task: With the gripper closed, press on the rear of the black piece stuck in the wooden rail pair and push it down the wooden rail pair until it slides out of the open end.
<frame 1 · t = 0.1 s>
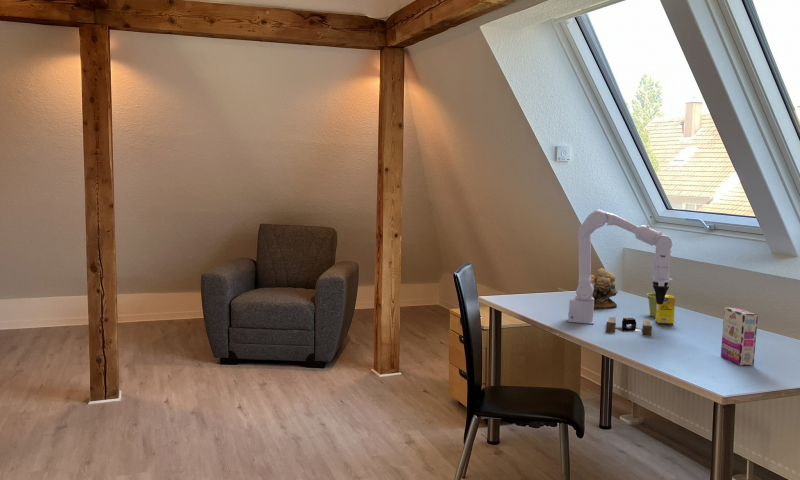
hand: (659, 302, 261), 10 cm above the table, tool pointing down, fingers open, 7 cm apart
wooden rail pair: (628, 329, 258), on the table
candy bar box: (736, 361, 218), on the table
plant pot: (657, 316, 284), on the table
black piece: (628, 331, 259), on the table
supplement box: (664, 324, 270), on the table
tan lumpy statue: (598, 306, 301), on the table
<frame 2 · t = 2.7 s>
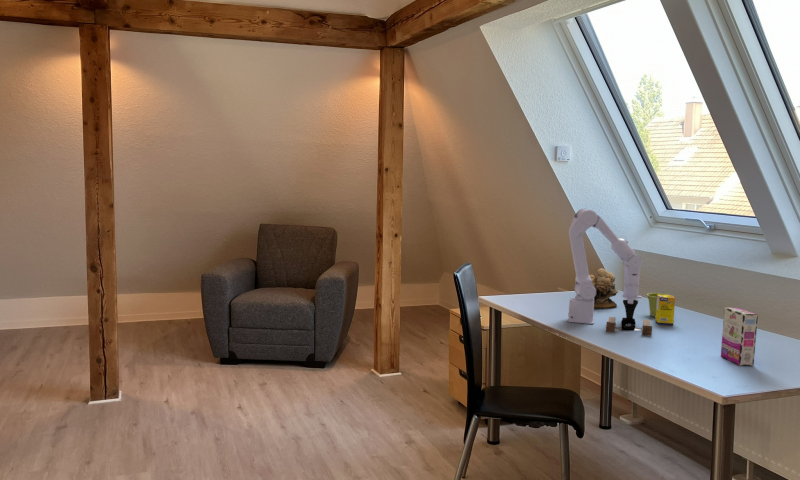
hand: (629, 318, 270), 2 cm above the table, tool pointing down, fingers closed
nothing on the table moved.
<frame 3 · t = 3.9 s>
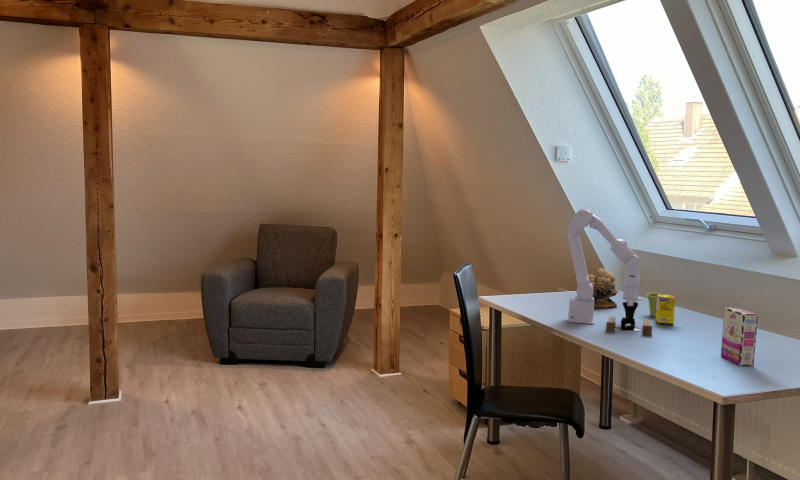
hand: (629, 321, 265), 2 cm above the table, tool pointing down, fingers closed
nothing on the table moved.
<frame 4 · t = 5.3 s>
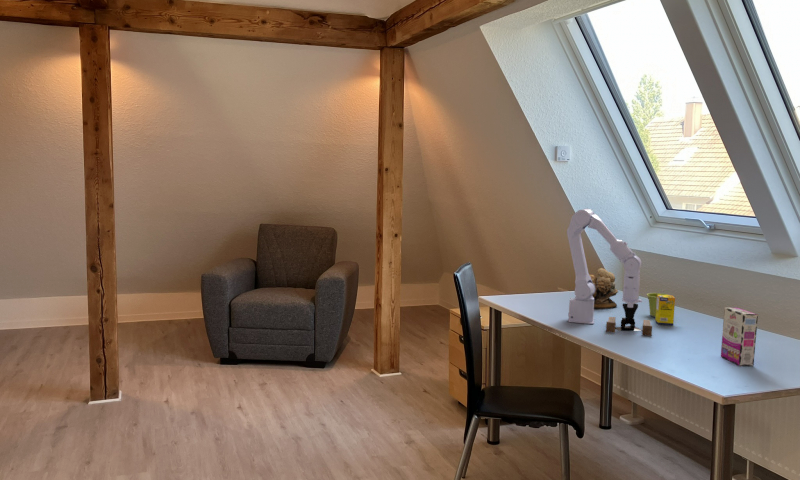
hand: (629, 322, 262), 2 cm above the table, tool pointing down, fingers closed
nothing on the table moved.
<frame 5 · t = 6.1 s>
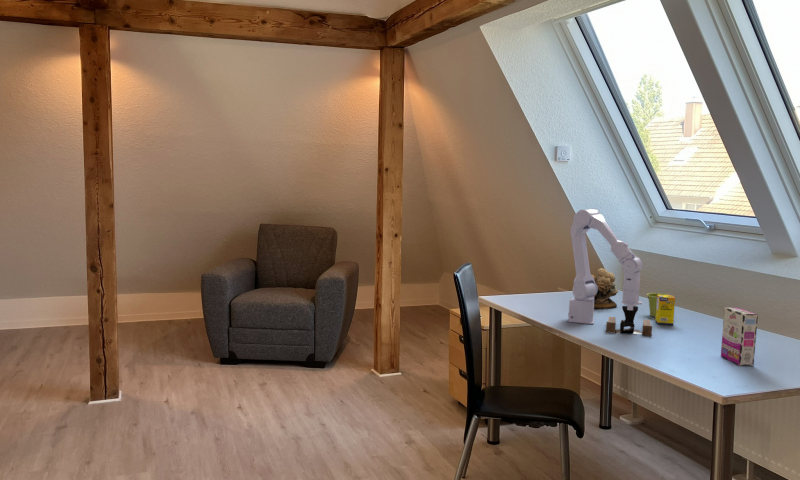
hand: (629, 325, 258), 2 cm above the table, tool pointing down, fingers closed
black piece: (626, 333, 255), on the table, touching wooden rail pair, gripper
everything else where it was.
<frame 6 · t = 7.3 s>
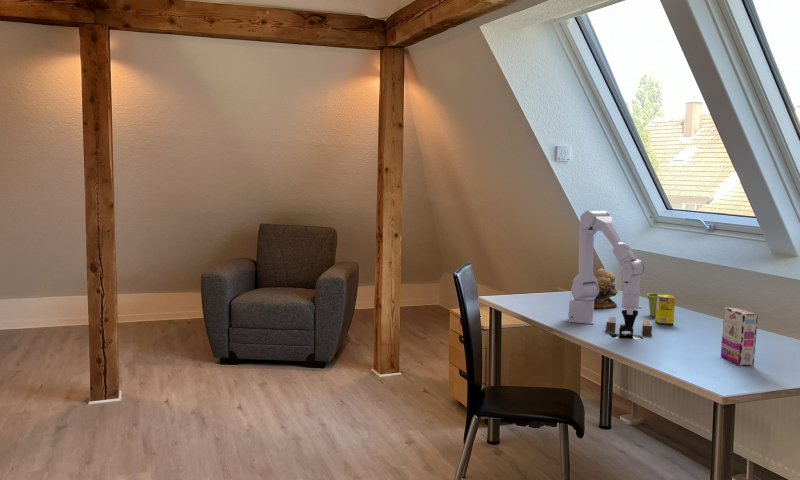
hand: (628, 330, 250), 2 cm above the table, tool pointing down, fingers closed
black piece: (625, 338, 248), on the table
everything else where it was.
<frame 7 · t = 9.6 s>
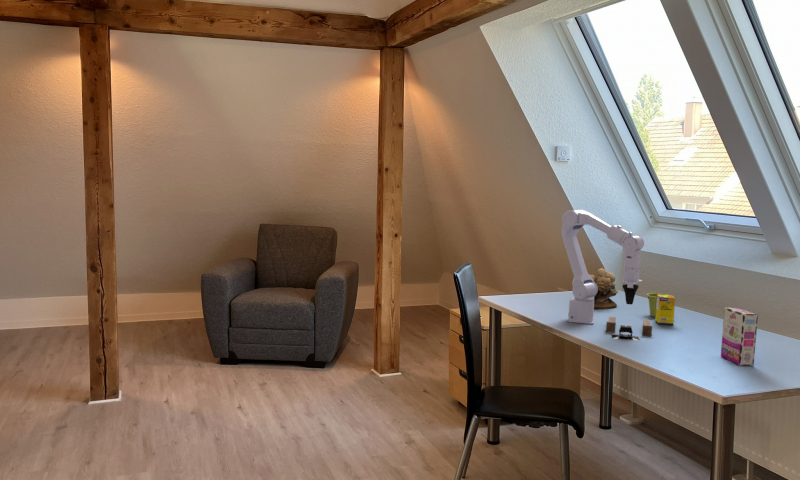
hand: (629, 304, 257), 10 cm above the table, tool pointing down, fingers closed
black piece: (625, 339, 246), on the table
everything else where it was.
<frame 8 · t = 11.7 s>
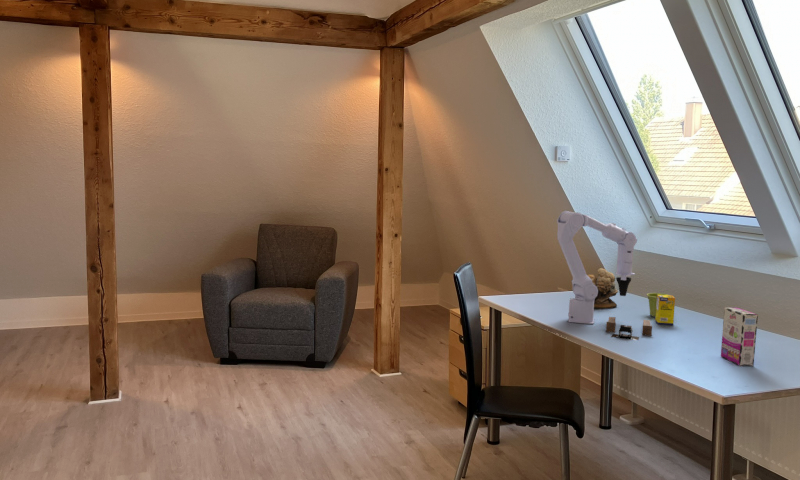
hand: (622, 295, 273), 10 cm above the table, tool pointing down, fingers closed
at the end: black piece inside the target area (6.7 cm from its centre), on the table; black piece moved 13.4 cm from its start; black piece tilted 0° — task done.
